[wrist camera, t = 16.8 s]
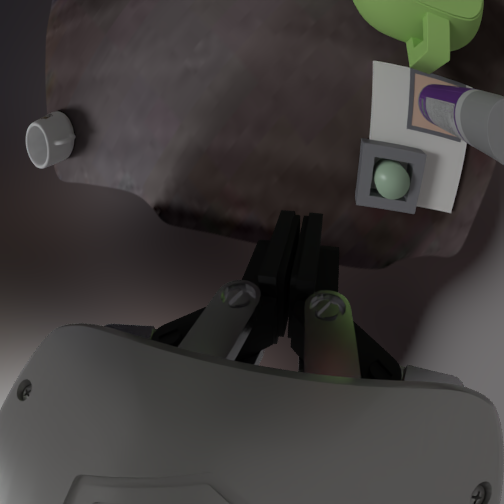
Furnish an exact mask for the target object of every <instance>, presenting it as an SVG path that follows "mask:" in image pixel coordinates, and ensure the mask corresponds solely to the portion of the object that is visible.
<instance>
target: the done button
mask: <svg viewBox="0 0 504 504" xmlns="http://www.w3.org/2000/svg"><path fill="white" fill-rule="evenodd" d="M372 176H373V179H374V182H375V185H376V188H377V190H378V192H379V193H380V194H381V195H382V196H383V197H385V198H387V199H399V198H401V197H403V196H404V195H405V194H406V193H407V191H408V189H409V186H410V178H409V175H408V173H407V172H406V170H405V169H404V168H403V166H402V165H401V163H400V162H399V161H396V160H391V159H385V158H381V159H380V160H378V161H377V162H376V163H375V165H374V167H373V174H372Z"/></svg>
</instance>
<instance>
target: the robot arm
mask: <svg viewBox="0 0 504 504" xmlns="http://www.w3.org/2000/svg"><path fill="white" fill-rule="evenodd" d="M322 218H323V214H319V213H309V216H304V218H303V223H302V228H301V232H300V215H295V211H283V210H282V211H281V213H280V216H279V219H278V221H277V224H276V227H275V230H274V232H273V235H272V238H271V241H269V240H259V241H258V243H257V245H256V248H255V250H254V252H253V255H252V257H251V259H250V262H249V264H248V267H247V269H246V271H245V274H244V276H243V278H242V280H235V281H232V282H229V283H227V284H225V285H223V286H222V287H221V288H220V289H219V290H218V291H217V293H216V294H215V296H214V297H213V299H212V300H211V301H210V303H209V304H208V305H207V307H204V308H202V309H200V310H197V311H195V312H193V313H191V314H188V315H186V316H183V317H181V318H179V319H176V320H174V321H172V322H169V323H167V324H164V325H163V326H161V327H159V328H158V329H155V328H154V326H140V325H124V324H123V325H122V324H108V325H105V326H100V325H95V324H84V323H79V324H68V325H64V326H61V327H58V328H56V329H55V330H53V331H52V332H51V333H50V334H49V335H48V336H47V337H46V338H45V339H44V340H43V342H42V343H41V344H40V345H39V347H38V348H37V349H36V351H35V352H34V353H33V355H32V356H31V358H30V359H29V361H28V362H27V364H26V365H25V367H24V368H23V370H22V371H21V373H20V375H19V376H18V378H17V380H16V382H15V383H14V385H13V387H12V389H11V390H10V392H9V394H8V396H7V398H6V400H5V402H4V404H3V406H2V408H1V410H0V504H500V500H501V493H502V484H503V472H504V452H503V451H504V449H503V436H502V429H501V423H500V419H499V415H498V412H497V410H496V408H495V406H494V404H493V403H492V402H491V401H490V400H489V399H488V398H487V397H486V396H484V395H482V394H481V393H479V392H477V391H474V390H472V389H469V388H467V387H464V385H463V383H462V382H461V380H459V378H457V377H455V376H453V375H448V374H443V373H439V372H435V371H431V370H427V369H422V368H418V367H414V366H411V365H407V366H406V367H402V366H399V364H398V363H397V361H396V360H395V359H394V358H393V357H392V356H391V355H390V354H389V353H388V352H386V351H385V350H384V349H383V348H382V347H381V346H380V345H379V344H378V343H377V342H376V341H375V340H373V339H372V338H371V337H370V336H369V335H368V334H367V333H366V332H365V331H364V330H363V329H361V328H360V327H359V326H358V325H357V324H356V323H355V322H354V321H353V319H352V313H351V307H350V304H349V302H348V300H347V299H346V298H345V297H344V296H343V295H341V294H340V293H338V274H339V247H331V246H321V245H320V243H321V231H322ZM288 317H289V324H288V338H291V348H292V349H293V350H294V351H295V352H296V354H297V355H298V356H299V361H298V372H295V371H289V370H282V369H276V368H270V367H264V366H259V363H260V361H261V359H262V357H263V355H264V351H265V348H267V347H269V346H270V345H272V344H277V341H278V337H279V336H282V337H284V334H285V330H286V325H287V321H288Z"/></svg>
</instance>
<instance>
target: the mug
mask: <svg viewBox="0 0 504 504" xmlns="http://www.w3.org/2000/svg"><path fill="white" fill-rule="evenodd" d="M75 138H76V136H75V135H74V130H73V127H72V124H71V122H70V120H69V118H68V117H67V116H66V115H65V114H63V113H62V112H59V111H56V112H52V113H50V114H48V115H46V116H44V117H42V118H41V119H39V120H37V121H35V122H33V123H32V124H31V125H30V126H29V127H28V130H27V134H26V147H27V152H28V155H29V157H30V159H31V161H32V162H33V164H34V165H35V166H36V167H38V168H46V167H48V166H50V165H53V164H56V163H58V162H61V161H63V160H65V159H66V158H68V157H69V156H70V154H71V152H72V150H73V147H74V139H75Z"/></svg>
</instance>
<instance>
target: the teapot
mask: <svg viewBox="0 0 504 504" xmlns="http://www.w3.org/2000/svg"><path fill="white" fill-rule="evenodd" d="M353 2H354V4H355V6H356V8H357V9H358V11H359V13H360V14H361V15H362V17H363V18H364V19H365V20H366V21H367V22H368V23H369V24H370V25H371V26H373V27H374V28H375V29H377V30H378V31H380V32H382V33H383V34H386V35H388V36H390V37H393V38H395V39H398V40H400V41H403V42H405V43H406V46H407V52H408V58H409V65H410V68H413V69H416V70H419V71H421V72H424V73H427V74H431V73H432V72H434V71H435V70H437V69H438V68H440V67H441V66H443V65H444V64H446V63H447V62H449V61H450V51H454V50H458V49H460V48H462V47H464V46H465V45H467V44H468V43H469V42H470V41H471V40H472V39H473V38H474V36H475V35H476V33H477V31H478V29H479V26H480V23H481V19H482V14H483V6H484V0H353Z"/></svg>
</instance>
